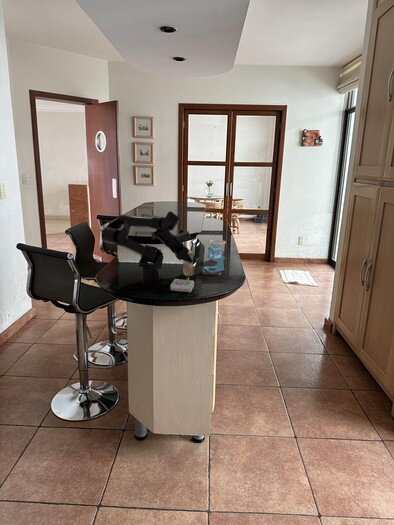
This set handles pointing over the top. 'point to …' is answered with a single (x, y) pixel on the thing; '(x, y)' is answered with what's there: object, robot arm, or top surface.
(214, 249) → the chair
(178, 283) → the socket plate
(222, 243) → the dixie cup
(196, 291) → the top surface
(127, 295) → the top surface
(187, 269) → the keyed post
